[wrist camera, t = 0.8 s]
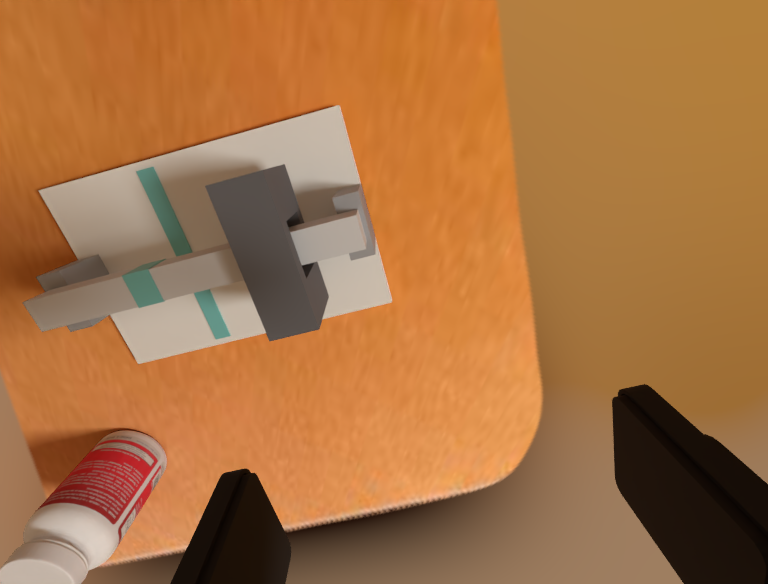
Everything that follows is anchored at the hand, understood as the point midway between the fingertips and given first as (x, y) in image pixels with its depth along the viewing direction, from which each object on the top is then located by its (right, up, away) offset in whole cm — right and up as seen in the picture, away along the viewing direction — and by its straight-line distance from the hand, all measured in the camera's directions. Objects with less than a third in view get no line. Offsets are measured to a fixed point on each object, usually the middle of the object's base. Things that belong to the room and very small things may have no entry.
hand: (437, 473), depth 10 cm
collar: (-8, +8, +15) cm, 19 cm away
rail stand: (-13, +8, +19) cm, 24 cm away
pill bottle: (-24, -10, +26) cm, 37 cm away
